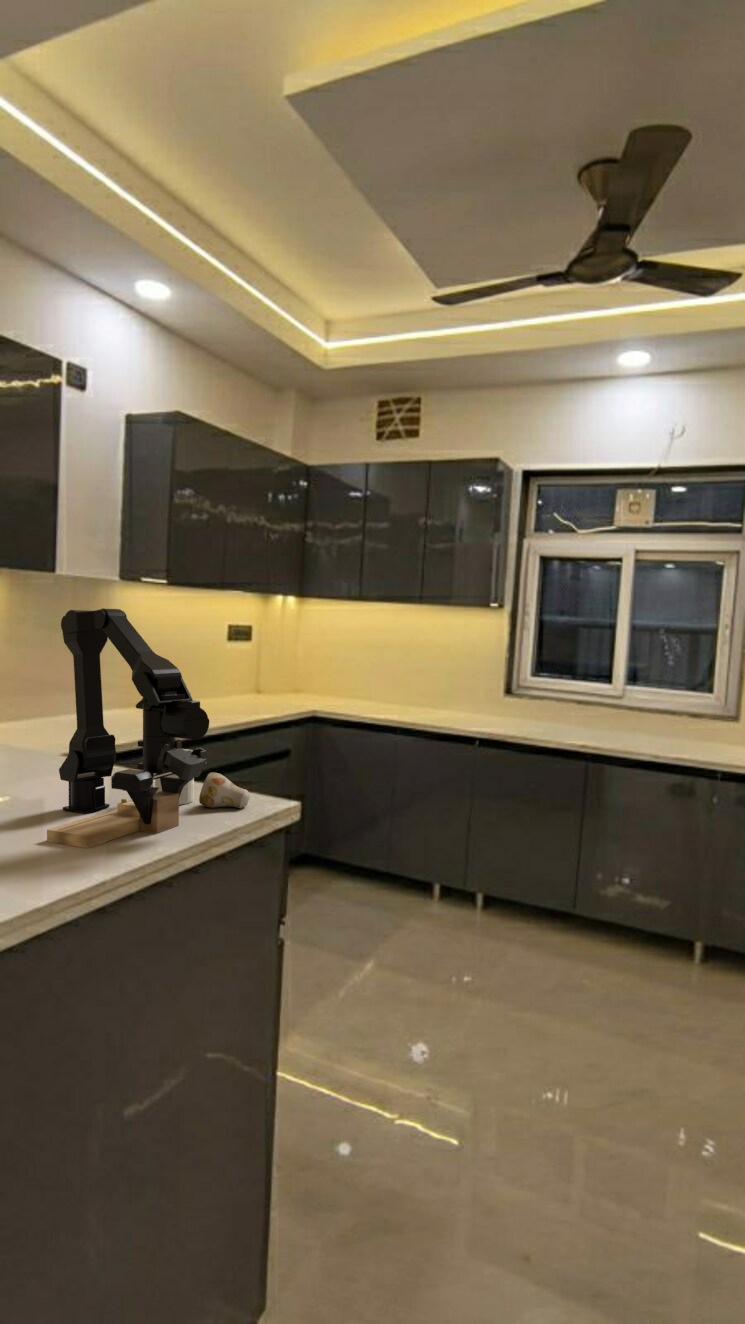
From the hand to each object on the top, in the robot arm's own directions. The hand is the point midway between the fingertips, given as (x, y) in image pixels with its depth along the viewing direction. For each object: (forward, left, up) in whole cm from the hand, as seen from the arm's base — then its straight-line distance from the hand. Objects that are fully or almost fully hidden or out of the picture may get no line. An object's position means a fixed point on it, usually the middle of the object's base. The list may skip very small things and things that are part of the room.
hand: (159, 819), depth 136 cm
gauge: (-3, 0, -1) cm, 4 cm away
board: (-7, -4, -2) cm, 8 cm away
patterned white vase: (+1, +19, -2) cm, 19 cm away
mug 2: (-12, +20, -2) cm, 23 cm away
